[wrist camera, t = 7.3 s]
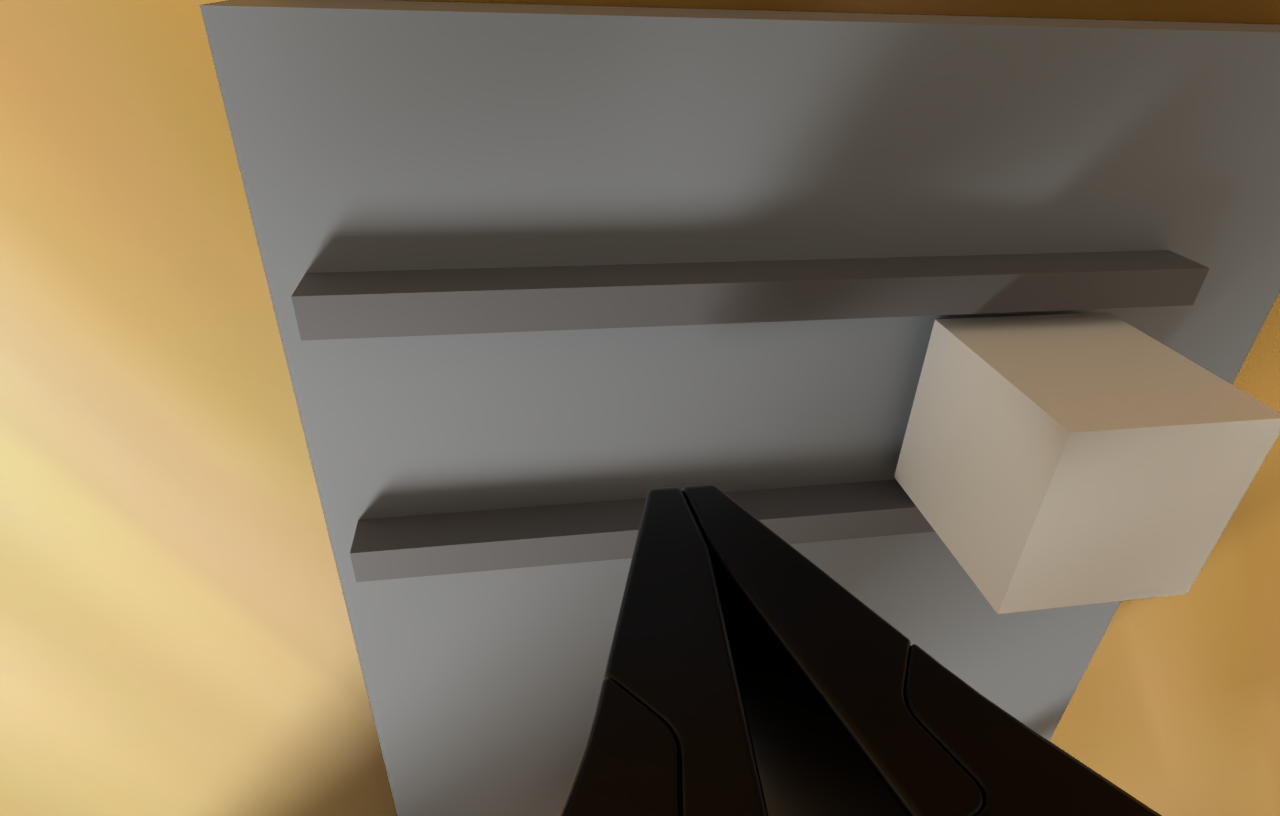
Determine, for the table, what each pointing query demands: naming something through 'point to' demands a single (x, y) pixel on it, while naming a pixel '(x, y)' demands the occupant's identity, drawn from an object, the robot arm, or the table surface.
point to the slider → (1076, 458)
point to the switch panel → (698, 308)
